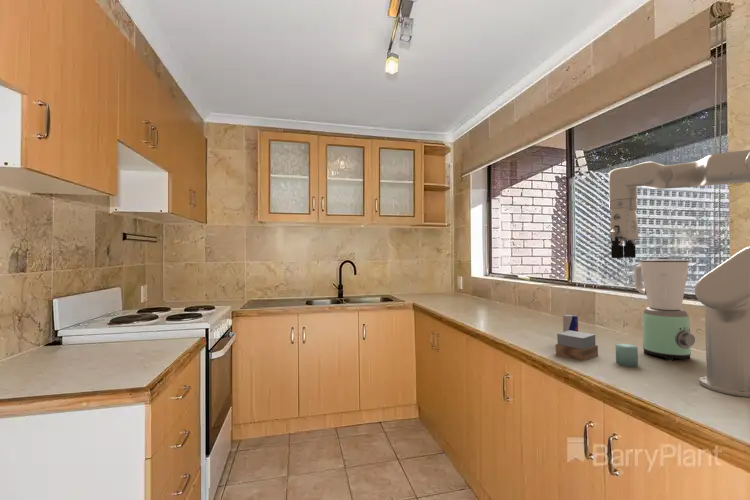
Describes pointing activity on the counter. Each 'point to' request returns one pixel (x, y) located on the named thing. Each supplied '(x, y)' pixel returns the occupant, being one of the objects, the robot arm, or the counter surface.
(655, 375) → the counter surface
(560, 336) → the tower top block
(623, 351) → the teal cylinder
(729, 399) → the counter surface
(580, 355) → the tower base block
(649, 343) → the mint green blender
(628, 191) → the robot arm
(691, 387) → the counter surface
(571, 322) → the energy drink
